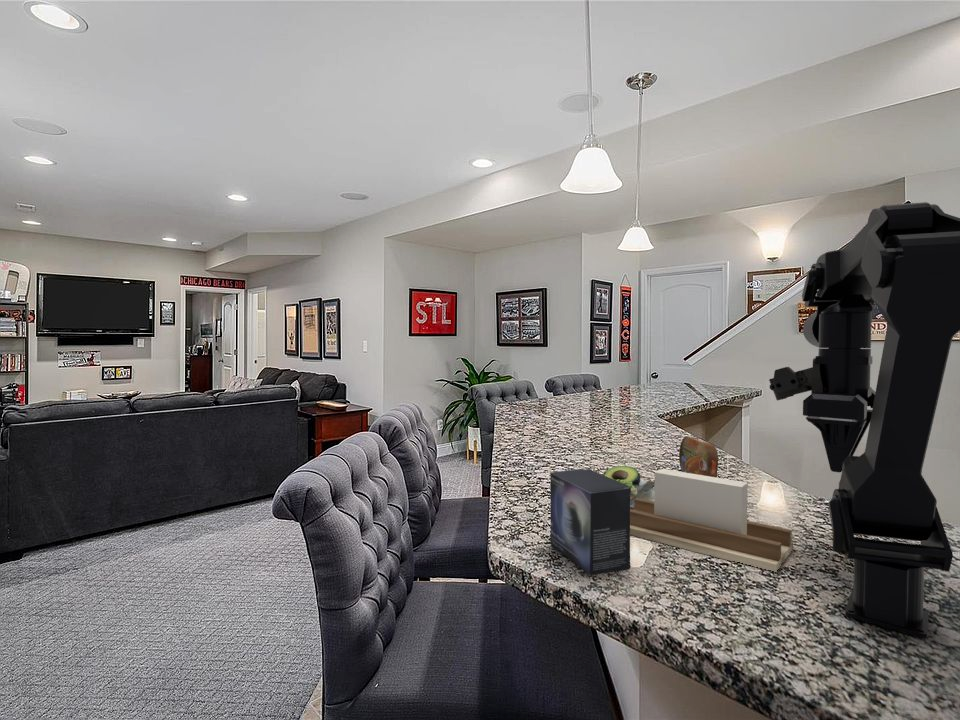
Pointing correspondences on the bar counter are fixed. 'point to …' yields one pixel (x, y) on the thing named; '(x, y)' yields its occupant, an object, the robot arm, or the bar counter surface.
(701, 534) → the floor track
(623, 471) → the salad plate
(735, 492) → the door panel
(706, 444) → the tin
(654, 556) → the bar counter surface
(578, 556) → the small box
